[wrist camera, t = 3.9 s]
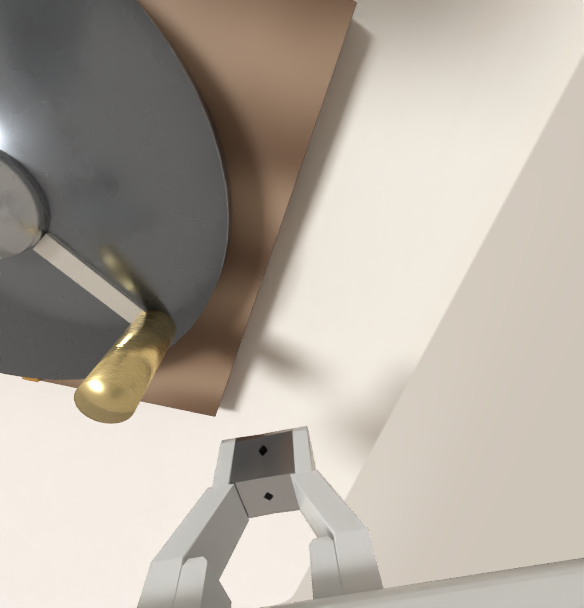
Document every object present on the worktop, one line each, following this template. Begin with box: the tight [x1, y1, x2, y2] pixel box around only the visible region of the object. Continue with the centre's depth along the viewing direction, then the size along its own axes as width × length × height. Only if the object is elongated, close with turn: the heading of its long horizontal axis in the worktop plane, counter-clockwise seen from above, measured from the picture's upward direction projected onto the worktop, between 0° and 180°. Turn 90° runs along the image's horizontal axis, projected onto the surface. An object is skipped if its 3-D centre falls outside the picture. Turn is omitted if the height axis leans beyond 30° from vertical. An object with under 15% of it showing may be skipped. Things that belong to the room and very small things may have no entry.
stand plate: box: [22, 0, 357, 417], centre depth 17 cm, size 27×27×2 cm
